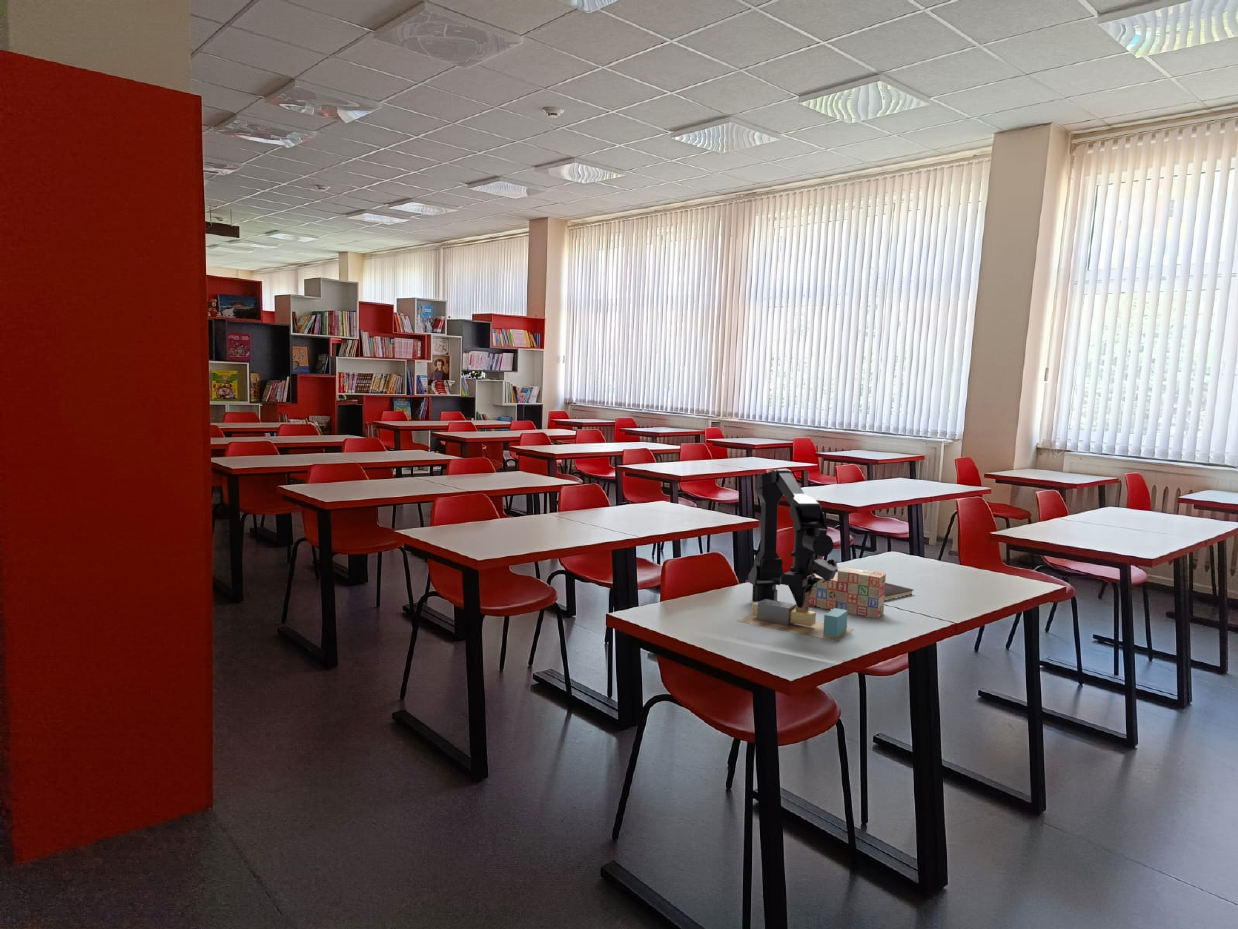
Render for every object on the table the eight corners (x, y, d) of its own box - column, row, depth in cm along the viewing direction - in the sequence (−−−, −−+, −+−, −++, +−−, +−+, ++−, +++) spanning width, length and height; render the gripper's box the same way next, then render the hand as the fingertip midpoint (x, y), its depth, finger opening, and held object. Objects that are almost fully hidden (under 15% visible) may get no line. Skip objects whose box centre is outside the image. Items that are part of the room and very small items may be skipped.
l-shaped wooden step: (752, 615, 209) (753, 584, 208) (756, 612, 212) (758, 582, 211) (811, 626, 200) (812, 594, 199) (815, 623, 202) (816, 592, 201)
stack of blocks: (805, 606, 227) (807, 566, 226) (813, 602, 232) (815, 562, 231) (877, 619, 215) (880, 576, 214) (884, 614, 220) (886, 572, 219)
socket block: (823, 635, 195) (824, 614, 195) (833, 628, 202) (834, 608, 201) (836, 637, 193) (837, 617, 193) (846, 630, 200) (847, 610, 199)
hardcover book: (853, 581, 262) (854, 575, 262) (913, 596, 244) (913, 589, 243) (823, 587, 253) (824, 580, 253) (883, 603, 234) (883, 596, 234)
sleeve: (757, 620, 207) (757, 602, 207) (764, 616, 211) (765, 598, 211) (788, 626, 202) (788, 608, 202) (795, 622, 206) (795, 604, 206)
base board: (737, 624, 206) (737, 621, 206) (757, 614, 217) (757, 610, 217) (838, 645, 191) (838, 641, 190) (854, 632, 201) (854, 629, 201)
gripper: (822, 558, 189) (819, 619, 190) (846, 547, 204) (843, 604, 205) (780, 552, 195) (777, 611, 196) (806, 542, 210) (804, 597, 212)
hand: (802, 606), depth 202 cm, fingers closed on l-shaped wooden step, 3 cm apart
